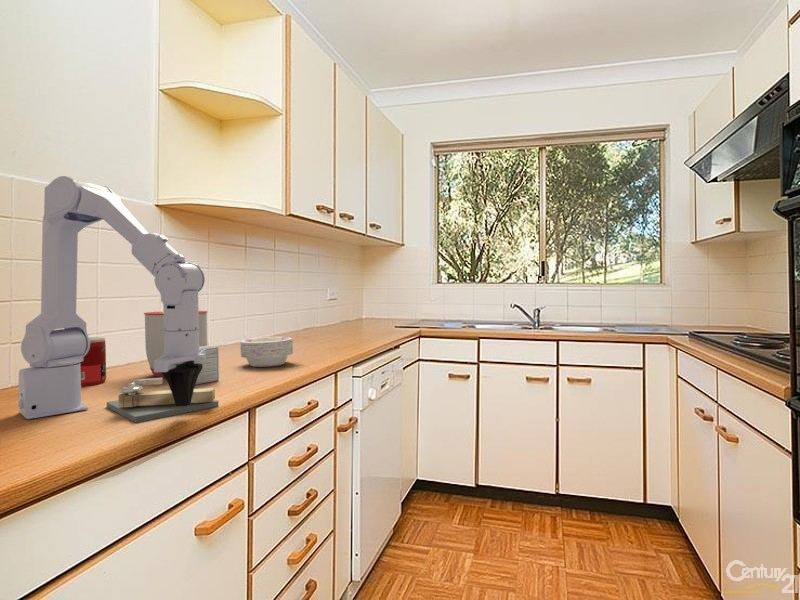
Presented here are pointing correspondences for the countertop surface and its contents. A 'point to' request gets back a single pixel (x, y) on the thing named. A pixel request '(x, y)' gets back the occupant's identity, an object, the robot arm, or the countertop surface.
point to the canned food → (94, 363)
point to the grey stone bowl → (266, 351)
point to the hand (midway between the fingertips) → (183, 405)
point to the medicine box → (209, 365)
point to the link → (163, 397)
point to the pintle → (131, 390)
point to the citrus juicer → (156, 336)
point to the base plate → (157, 410)
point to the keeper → (147, 382)
